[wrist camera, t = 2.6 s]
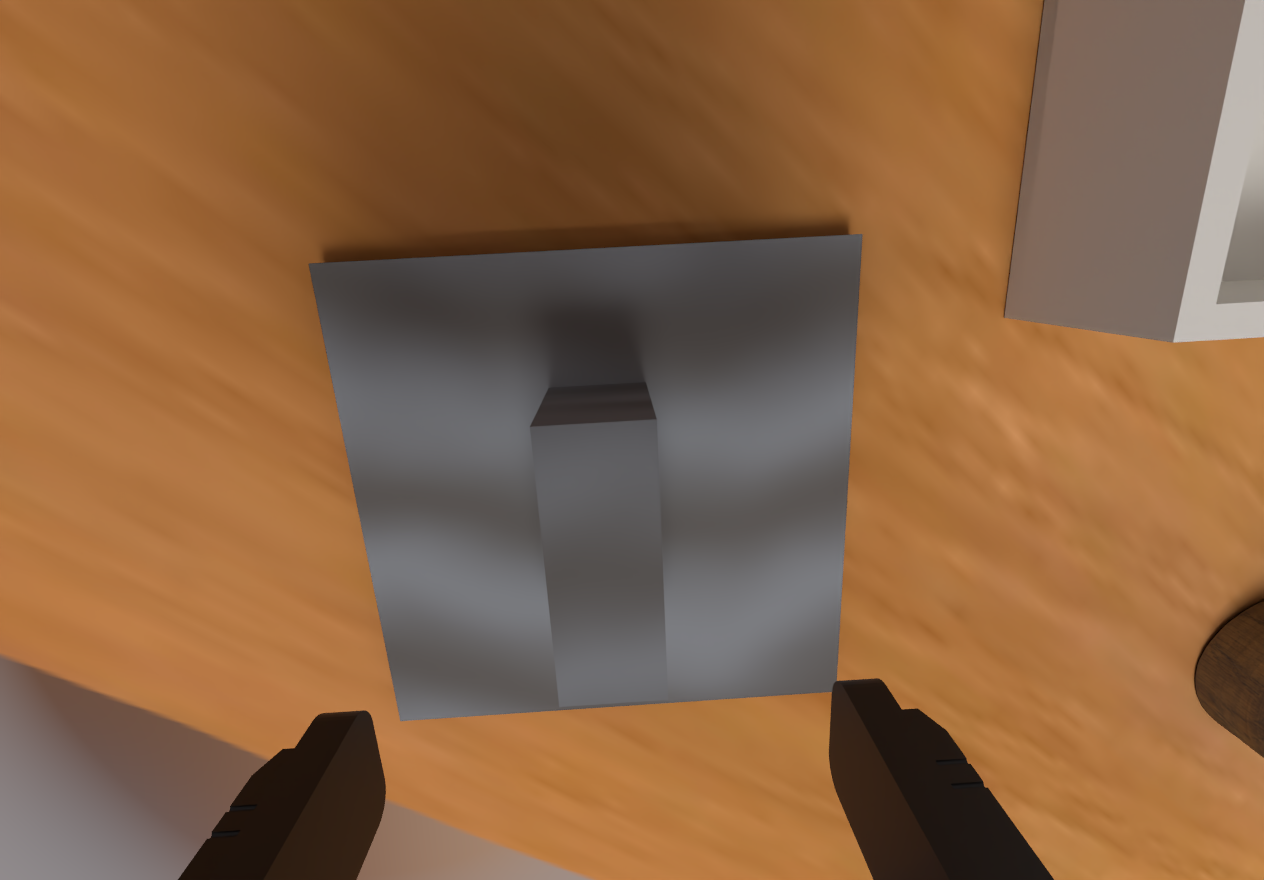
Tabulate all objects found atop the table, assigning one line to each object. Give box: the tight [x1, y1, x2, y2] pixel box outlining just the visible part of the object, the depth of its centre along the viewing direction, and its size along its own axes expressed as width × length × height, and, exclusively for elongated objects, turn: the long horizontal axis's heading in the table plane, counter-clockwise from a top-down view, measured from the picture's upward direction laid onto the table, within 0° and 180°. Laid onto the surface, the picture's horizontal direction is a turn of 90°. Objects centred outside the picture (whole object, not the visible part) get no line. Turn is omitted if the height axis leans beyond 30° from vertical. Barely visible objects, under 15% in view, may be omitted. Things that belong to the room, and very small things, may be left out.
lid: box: [309, 234, 862, 721], centre depth 18 cm, size 16×16×6 cm
